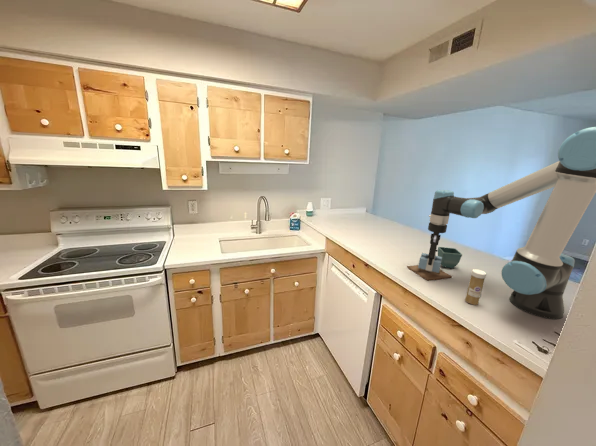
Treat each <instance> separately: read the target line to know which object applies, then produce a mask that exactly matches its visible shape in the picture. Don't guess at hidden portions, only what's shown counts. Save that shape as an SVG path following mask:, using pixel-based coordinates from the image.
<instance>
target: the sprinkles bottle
mask: <svg viewBox="0 0 596 446" xmlns="http://www.w3.org/2000/svg"><path fill="white" fill-rule="evenodd" d="M486 277H487V273H486V272H485V271H484V270H481V269H476V268H474V269H472V270H471V272H470V280H469V282H468V285H467V291H466V295H465V299H464V301H465V302H466V303H468V304H470V305H473V306H476V305H479V301H480V298H481V295H482V291H483V287H484V282H485V279H486Z"/></svg>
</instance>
